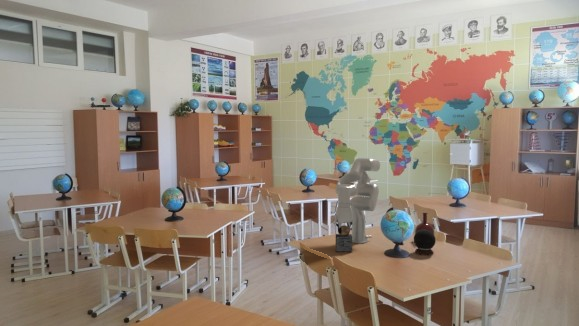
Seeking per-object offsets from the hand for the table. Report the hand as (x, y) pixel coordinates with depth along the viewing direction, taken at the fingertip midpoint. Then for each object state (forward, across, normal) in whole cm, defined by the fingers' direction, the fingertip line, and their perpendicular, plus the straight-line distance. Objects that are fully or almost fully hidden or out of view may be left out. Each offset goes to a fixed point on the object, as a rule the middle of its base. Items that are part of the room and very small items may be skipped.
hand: (343, 232), depth 268 cm
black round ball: (+12, -46, +21) cm, 52 cm away
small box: (+12, 0, 0) cm, 12 cm away
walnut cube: (+1, 0, 0) cm, 1 cm away
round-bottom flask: (+12, -63, -2) cm, 64 cm away
